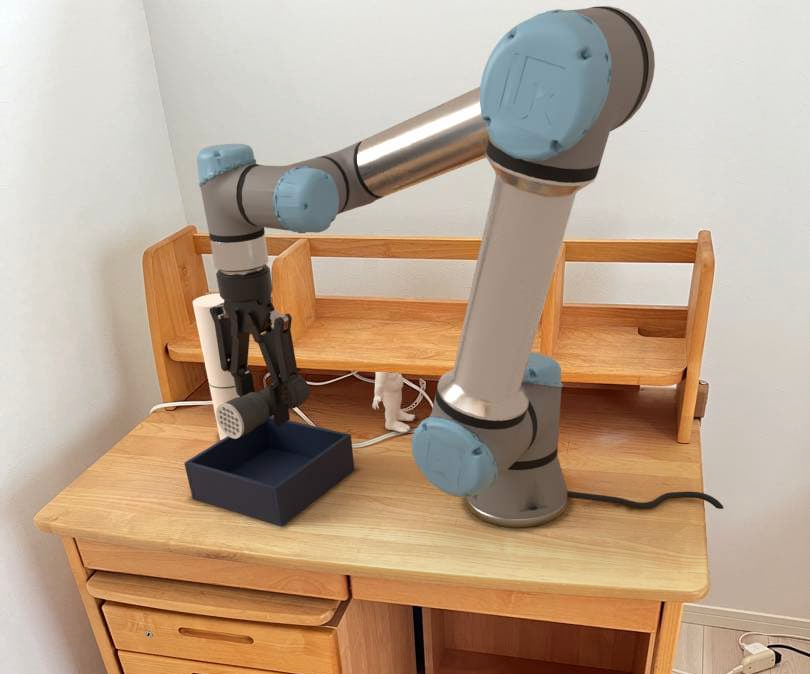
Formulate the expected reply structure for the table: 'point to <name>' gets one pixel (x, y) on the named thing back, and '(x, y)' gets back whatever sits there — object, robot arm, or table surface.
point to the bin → (271, 470)
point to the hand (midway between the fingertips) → (266, 418)
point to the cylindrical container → (213, 354)
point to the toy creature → (391, 400)
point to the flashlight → (256, 408)
